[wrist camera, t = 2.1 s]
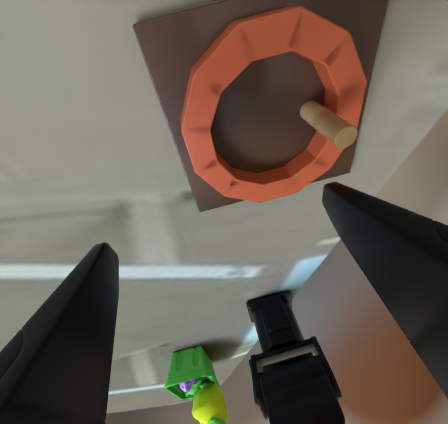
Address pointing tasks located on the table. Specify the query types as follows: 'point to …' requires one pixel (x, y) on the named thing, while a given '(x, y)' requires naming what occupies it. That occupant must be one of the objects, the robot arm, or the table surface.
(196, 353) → the fruit basket
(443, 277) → the robot arm
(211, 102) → the ring
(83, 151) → the table surface
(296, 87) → the peg stand
